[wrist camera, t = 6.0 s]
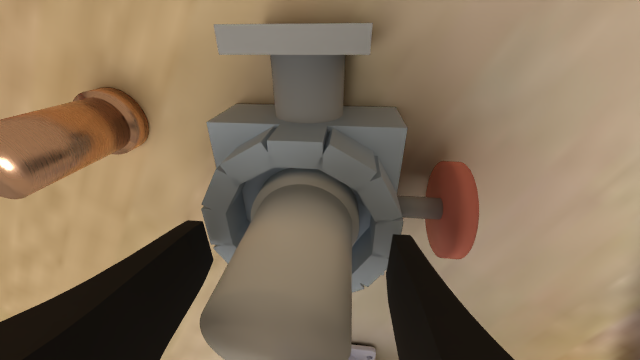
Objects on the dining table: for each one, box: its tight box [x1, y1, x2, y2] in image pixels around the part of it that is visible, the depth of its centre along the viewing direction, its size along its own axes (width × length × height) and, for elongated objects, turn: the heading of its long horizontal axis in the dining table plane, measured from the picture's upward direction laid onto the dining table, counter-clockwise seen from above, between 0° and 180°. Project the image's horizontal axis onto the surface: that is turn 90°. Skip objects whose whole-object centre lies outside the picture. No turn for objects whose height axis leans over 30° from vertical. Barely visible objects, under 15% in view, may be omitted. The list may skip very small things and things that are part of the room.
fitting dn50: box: [200, 168, 359, 360], centre depth 10 cm, size 5×5×6 cm
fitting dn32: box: [0, 87, 149, 199], centre depth 12 cm, size 3×3×6 cm
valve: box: [201, 23, 479, 292], centre depth 13 cm, size 15×11×5 cm
